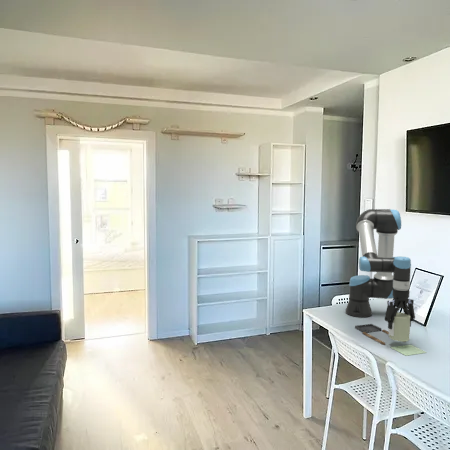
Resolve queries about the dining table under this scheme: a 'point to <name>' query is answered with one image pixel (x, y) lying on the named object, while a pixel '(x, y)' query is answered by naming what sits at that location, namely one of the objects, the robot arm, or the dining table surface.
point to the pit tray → (368, 328)
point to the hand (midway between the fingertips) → (399, 334)
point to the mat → (408, 350)
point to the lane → (376, 338)
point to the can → (401, 327)
